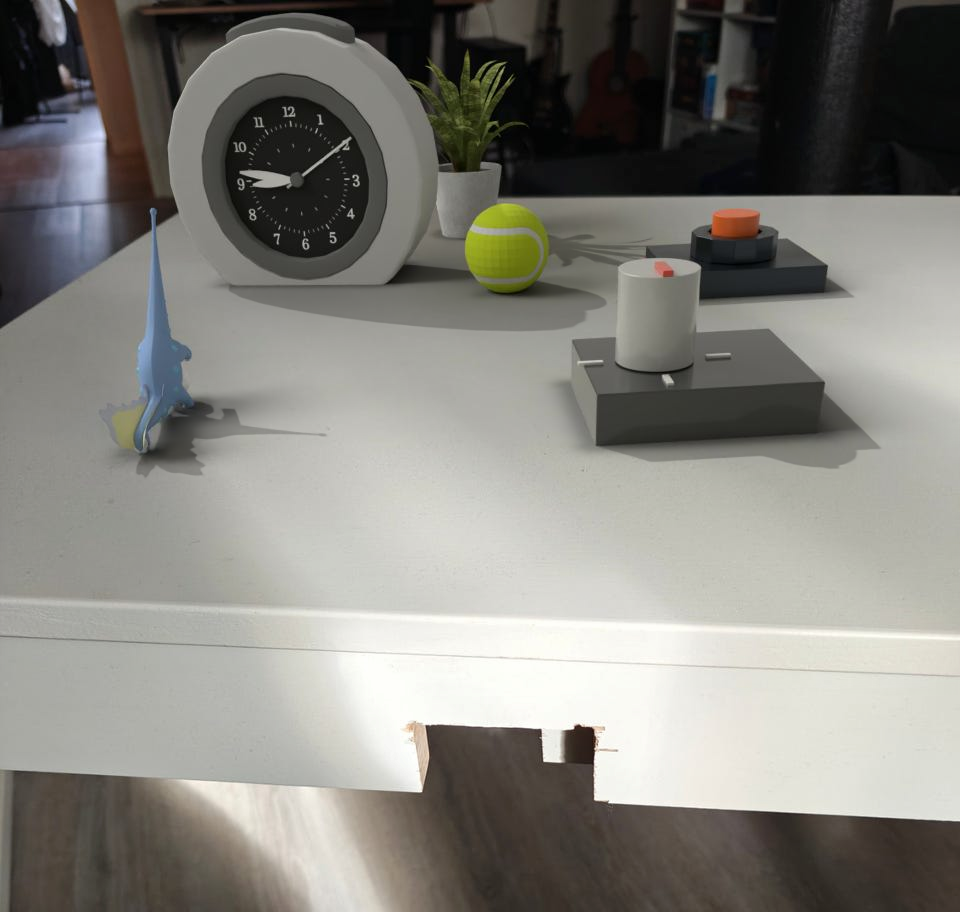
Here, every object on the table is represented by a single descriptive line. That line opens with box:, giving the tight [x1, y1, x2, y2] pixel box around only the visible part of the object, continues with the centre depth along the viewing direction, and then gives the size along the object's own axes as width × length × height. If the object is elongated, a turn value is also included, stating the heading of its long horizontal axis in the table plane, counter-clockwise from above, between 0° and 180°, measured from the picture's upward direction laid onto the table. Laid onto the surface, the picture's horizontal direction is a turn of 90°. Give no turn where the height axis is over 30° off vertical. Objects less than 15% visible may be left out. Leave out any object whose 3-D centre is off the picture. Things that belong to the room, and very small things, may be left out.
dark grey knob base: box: [570, 328, 826, 447], centre depth 58 cm, size 12×10×3 cm
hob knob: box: [615, 258, 701, 372], centre depth 56 cm, size 4×4×5 cm
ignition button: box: [711, 208, 761, 237], centre depth 80 cm, size 4×4×2 cm
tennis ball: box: [464, 203, 550, 294], centre depth 81 cm, size 7×7×7 cm
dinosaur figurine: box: [98, 207, 195, 455], centre depth 58 cm, size 3×15×10 cm
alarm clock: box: [167, 12, 440, 286], centre depth 85 cm, size 21×8×20 cm, turn 82°
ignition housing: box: [645, 223, 829, 300], centre depth 81 cm, size 12×10×4 cm
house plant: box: [405, 48, 530, 239], centre depth 99 cm, size 14×14×16 cm
